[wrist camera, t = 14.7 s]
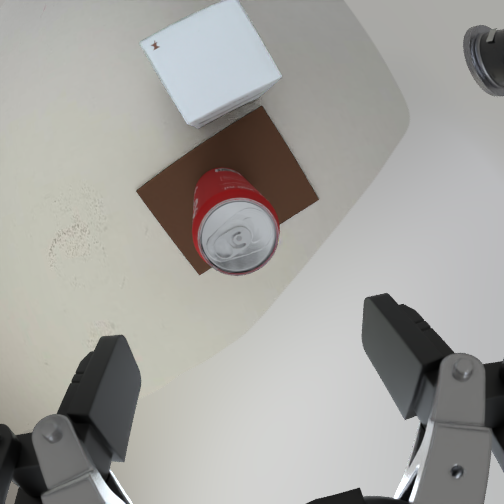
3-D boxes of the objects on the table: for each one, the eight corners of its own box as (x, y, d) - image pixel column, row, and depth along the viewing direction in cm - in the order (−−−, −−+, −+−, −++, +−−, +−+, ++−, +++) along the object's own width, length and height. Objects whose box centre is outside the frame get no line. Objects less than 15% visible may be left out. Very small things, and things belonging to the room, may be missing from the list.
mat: (261, 105, 30) (261, 105, 30) (318, 199, 34) (319, 199, 34) (136, 190, 32) (135, 191, 32) (199, 274, 36) (199, 275, 36)
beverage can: (188, 175, 32) (164, 207, 18) (249, 158, 32) (272, 178, 18) (204, 227, 34) (194, 294, 20) (262, 211, 34) (292, 269, 20)
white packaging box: (197, 130, 30) (183, 128, 19) (165, 72, 28) (134, 39, 16) (261, 99, 30) (285, 78, 18) (229, 41, 27) (234, -8, 15)
